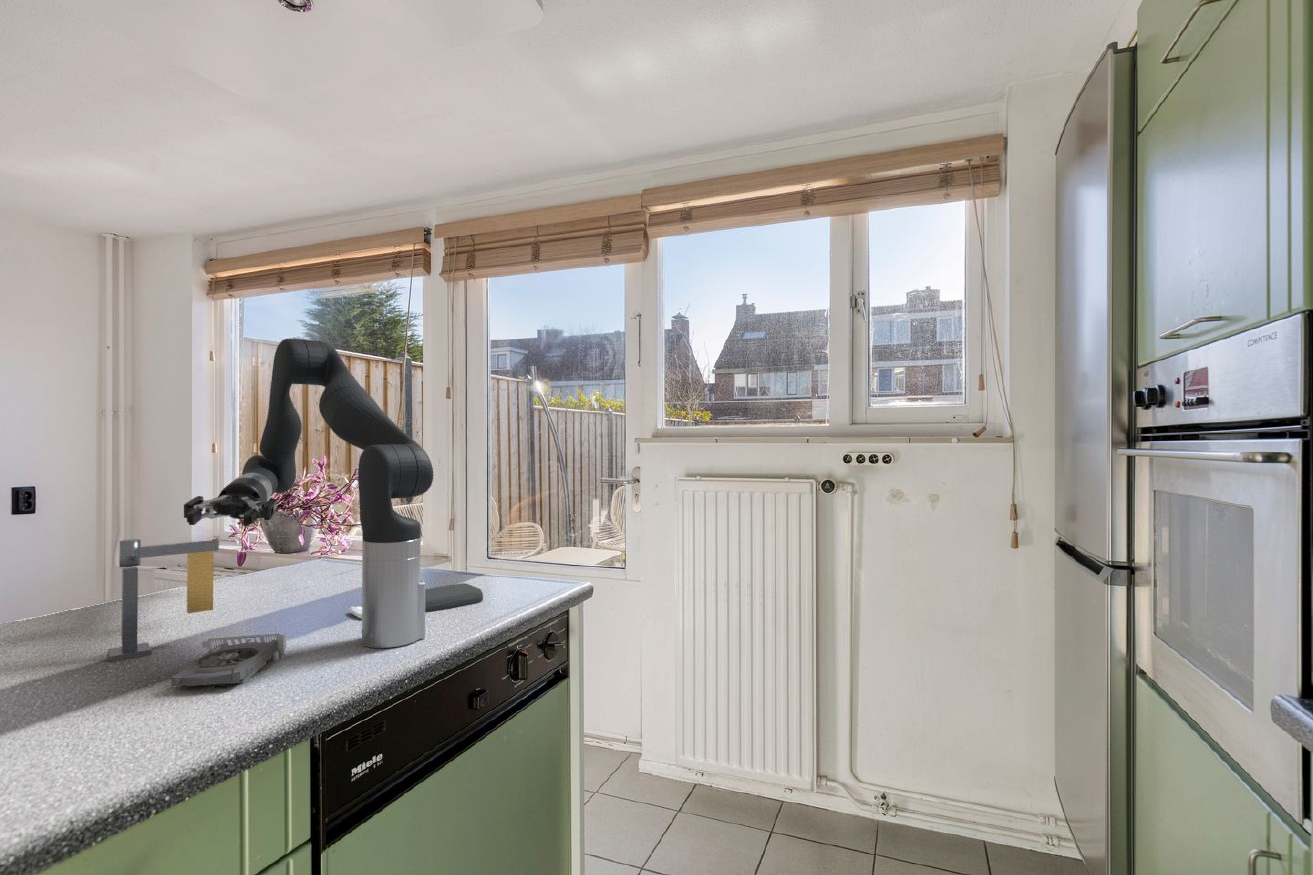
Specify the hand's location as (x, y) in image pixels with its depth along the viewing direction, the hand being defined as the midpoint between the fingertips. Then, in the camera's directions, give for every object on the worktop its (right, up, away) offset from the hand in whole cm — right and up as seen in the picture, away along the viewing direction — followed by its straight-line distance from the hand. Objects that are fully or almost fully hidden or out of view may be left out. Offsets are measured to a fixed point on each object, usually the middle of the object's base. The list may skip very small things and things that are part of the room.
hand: (218, 520), depth 118 cm
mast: (-5, -19, -14) cm, 24 cm away
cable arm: (-1, -14, -11) cm, 18 cm away
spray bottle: (+30, -20, +16) cm, 40 cm away
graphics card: (+15, -20, -22) cm, 33 cm away
